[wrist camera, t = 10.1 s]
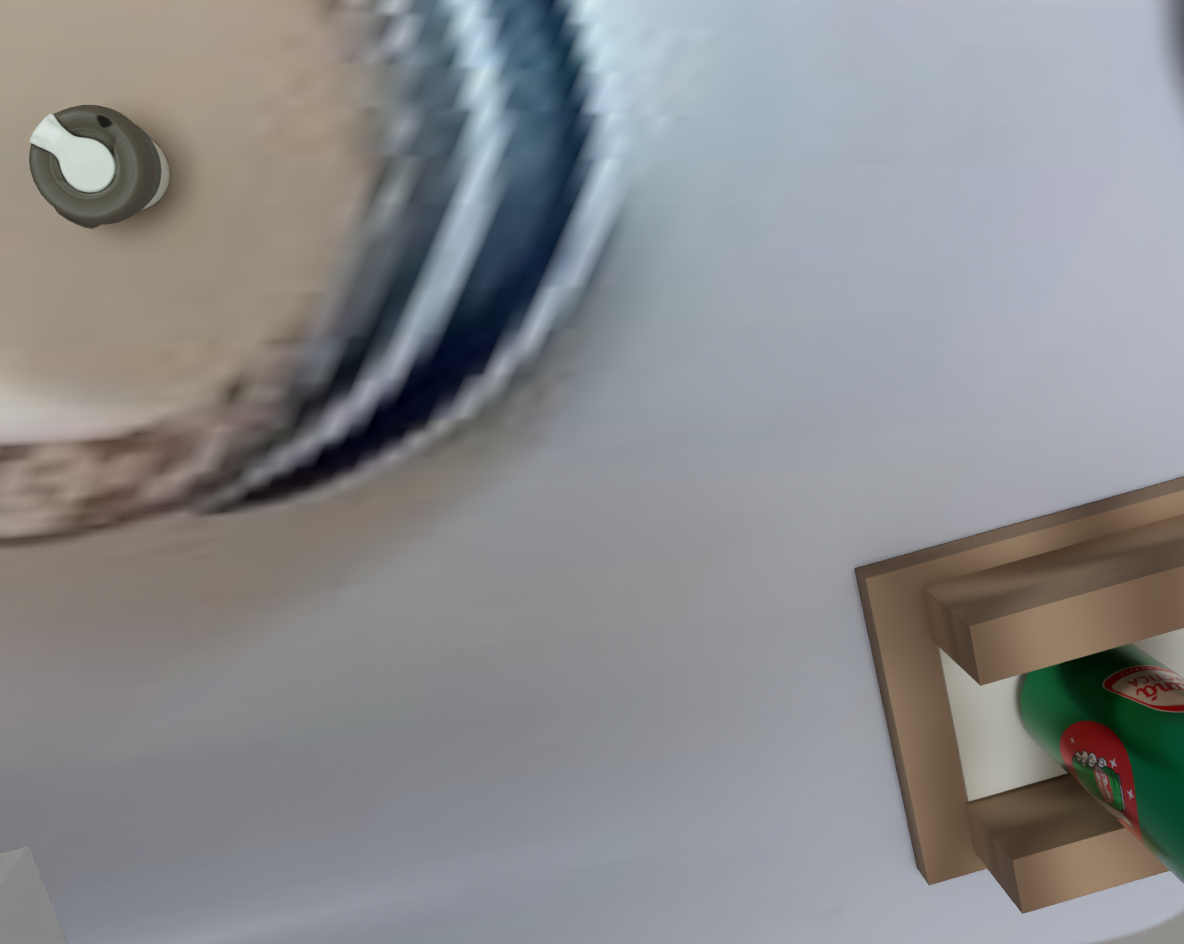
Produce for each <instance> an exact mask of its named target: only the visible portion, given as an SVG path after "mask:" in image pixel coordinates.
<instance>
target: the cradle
mask: <svg viewBox="0 0 1184 944" xmlns="http://www.w3.org/2000/svg"><path fill="white" fill-rule="evenodd" d="M855 572H856V577H857V582H858V586H859V591H860V596H861V601H862V606H863V610H864V615H865V620H866V625H867V630H868V634H869V639H870V644H871V649H872V654H873V658H874V663H875V668H876V673H877V677H878V682H879V687H880V692H881V697H882V701H883V706H884V711H885V716H886V721H887V725H888V730H889V735H890V740H891V745H892V749H893V754H894V759H895V764H896V769H897V773H898V778H899V783H900V788H901V793H902V797H903V802H904V807H905V812H906V816H907V821H908V826H909V831H910V836H911V840H912V845H913V850H914V855H915V860H916V864H917V868H918V870H919V871H920V873H921V874H922V876H923V877H924V879H925V880H926V882H927V883H928V885H932V884H935V883H939V882H942V881H946V880H949V879H952V878H956V877H959V876H963V875H966V874H970V873H973V872H977V871H980V870H983V869H988V870H989V871H990V873H991V874H992V875H993V876H994V878H995V879H996V880H997V882H998V883H999V884H1000V885H1001V887H1002V888H1003V889H1004V891H1005V892H1006V893H1007V894H1008V896H1009V897H1010V898H1011V900H1012V901H1013V902H1014V903H1015V905H1016V906H1017V907H1018V909H1019V910H1020V911H1021V912H1022V914H1023V913H1026V912H1030V911H1033V910H1037V909H1040V908H1043V907H1047V906H1050V905H1054V904H1057V903H1061V902H1064V901H1067V900H1071V899H1074V898H1078V897H1081V896H1085V895H1088V894H1091V893H1095V892H1098V891H1102V890H1105V889H1109V888H1112V887H1115V886H1119V885H1122V884H1126V883H1129V882H1132V881H1136V880H1139V879H1143V878H1146V877H1150V876H1153V875H1156V874H1160V873H1163V872H1167V871H1170V870H1169V869H1168V868H1167V867H1166V866H1165V865H1164V864H1163V863H1162V862H1161V861H1160V860H1159V859H1157V858H1156V857H1155V856H1154V855H1153V854H1152V853H1151V852H1150V851H1149V850H1148V849H1147V848H1146V847H1145V846H1144V845H1143V844H1142V843H1141V842H1140V841H1139V840H1138V839H1136V838H1135V837H1134V836H1133V835H1132V834H1131V833H1130V832H1129V831H1128V830H1127V829H1126V828H1125V827H1124V826H1123V825H1122V824H1121V823H1120V822H1119V821H1118V820H1116V819H1115V818H1114V817H1113V816H1112V815H1111V814H1110V813H1109V812H1108V811H1107V810H1106V809H1105V808H1104V807H1103V806H1102V805H1101V804H1100V803H1099V802H1098V801H1097V800H1095V799H1094V798H1093V797H1092V796H1091V795H1090V794H1089V793H1088V792H1087V791H1086V790H1085V789H1084V788H1083V787H1082V786H1081V785H1080V784H1079V783H1078V782H1077V781H1076V780H1074V779H1073V778H1072V777H1071V776H1070V775H1069V774H1068V773H1067V772H1066V771H1065V770H1064V769H1063V768H1062V767H1061V766H1060V765H1059V764H1058V763H1057V762H1056V761H1054V760H1053V759H1052V758H1051V757H1050V756H1049V755H1048V754H1047V753H1046V752H1045V751H1044V750H1043V749H1042V748H1041V747H1040V746H1039V745H1038V744H1037V743H1036V742H1035V741H1033V739H1032V738H1031V736H1030V735H1029V734H1028V732H1027V730H1026V728H1025V726H1024V723H1023V720H1022V716H1021V707H1020V703H1021V693H1022V689H1023V685H1024V682H1025V680H1026V677H1027V675H1028V673H1029V672H1031V671H1035V670H1038V669H1042V668H1045V667H1049V666H1052V665H1056V664H1059V663H1063V662H1066V661H1070V660H1073V659H1077V658H1080V657H1084V656H1087V655H1091V654H1094V653H1098V652H1101V651H1105V650H1108V649H1112V648H1115V647H1119V646H1123V645H1126V644H1130V643H1132V644H1133V645H1135V646H1136V647H1138V648H1139V649H1141V650H1142V651H1144V652H1145V653H1147V654H1148V655H1150V656H1151V657H1153V658H1155V659H1156V660H1158V661H1159V662H1161V663H1162V664H1164V665H1165V666H1167V667H1168V668H1170V669H1171V670H1173V671H1174V672H1176V673H1177V674H1179V675H1180V676H1182V677H1183V678H1184V477H1182V478H1178V479H1175V480H1171V481H1168V482H1164V483H1160V484H1157V485H1153V486H1150V487H1146V488H1143V489H1139V490H1135V491H1132V492H1128V493H1125V494H1121V495H1117V496H1114V497H1110V498H1107V499H1103V500H1100V501H1096V502H1092V503H1089V504H1085V505H1082V506H1078V507H1074V508H1071V509H1067V510H1064V511H1060V512H1057V513H1053V514H1049V515H1046V516H1042V517H1039V518H1035V519H1031V520H1028V521H1024V522H1021V523H1017V524H1013V525H1010V526H1006V527H1003V528H999V529H996V530H992V531H988V532H985V533H981V534H978V535H974V536H970V537H967V538H963V539H960V540H956V541H953V542H949V543H945V544H942V545H938V546H935V547H931V548H927V549H924V550H920V551H917V552H913V553H910V554H906V555H902V556H899V557H895V558H892V559H888V560H884V561H881V562H877V563H874V564H870V565H867V566H863V567H859V568H856V569H855Z"/></svg>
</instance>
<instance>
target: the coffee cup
mask: <svg viewBox="0 0 1184 944" xmlns="http://www.w3.org/2000/svg"><path fill="white" fill-rule="evenodd" d="M29 141H30V143H31V148H30V156H29V163H30V170H31V174H32V177H33V180H34V182H35V184H36V186H37V188H38V190H39V191H40V193H41V194H42V196H43V197H44V198H45V199H46V200H47V201H48V202H49V203H50V204H51V205H52V206H53V207H54V208H55V210H56V211H57V212H58V213H59V214H60V215H61V216H63V217H64V218H66V219H67V220H69V221H71V222H73V223H75V224H77V225H80V226H83V227H86V228H91V229H92V228H95V227H98V226H100V225H102V224H111V223H116V222H120V221H122V220H125V219H127V218H129V217H130V216H132V215H133V214H134V213H136V212H138V211H141V210H143V209H146V208H148V207H150V206H152V205H153V204H155V203H156V202H158V201H159V200H160V199H161V198H162V196H163V195H164V193H165V192H166V190H167V187H168V184H169V178H170V171H169V165H168V162H167V159H166V157H165V155H164V153H163V152H162V150H161V149H160V148H159V147H158V146H157V145H156V143H154V142H153V141H152V140H151V139H150V138H149V136H148V135H147V134H146V133H145V132H144V131H143V130H142V129H141V128H140V127H138V126H137V125H135V124H134V123H133V122H132V121H130V120H129V119H128V118H127V117H125V116H124V115H122V114H121V113H119V112H117V111H115V110H112V109H110V108H106V107H102V106H96V105H81V106H75V107H71V108H68V109H65V110H62V111H60V112H58V113H55V114H49V115H48V116H46V117H45V118H44V119H43V121H42V122H41V123H40V124H39V125H38V126H37V128H36V129H35V131H34V132H33V134H32V136H31V138H30V140H29Z"/></svg>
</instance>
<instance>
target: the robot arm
mask: <svg viewBox="0 0 1184 944" xmlns="http://www.w3.org/2000/svg"><path fill="white" fill-rule="evenodd" d="M0 944H68V943H67V940H66V938H65V935H64V933H63V930H62V928H61V925H60V923H59V920H58V918H57V916H56V913H55V911H54V908H53V906H52V903H51V901H50V898H49V896H48V893H47V891H46V889H45V886H44V884H43V881H42V879H41V876H40V874H39V871H38V869H37V866H36V864H35V861H34V859H33V857H32V854H31V852H30V849H29V847H28V846H26V847H23V848H19V849H15V850H11V851H8V852H4V853H0Z"/></svg>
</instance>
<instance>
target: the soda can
mask: <svg viewBox="0 0 1184 944" xmlns="http://www.w3.org/2000/svg"><path fill="white" fill-rule="evenodd" d="M1020 707H1021V716H1022V720H1023V723H1024V726H1025V728H1026V730H1027V732H1028V734H1029V735H1030V736H1031V738H1032V739H1033V741H1035V742H1036V743H1037V744H1038V745H1039V746H1040V747H1041V748H1042V749H1043V750H1044V751H1045V752H1046V753H1047V754H1048V755H1049V756H1050V757H1051V758H1052V759H1053V760H1054V761H1056V762H1057V763H1058V764H1059V765H1060V766H1061V767H1062V768H1063V769H1064V770H1065V771H1066V772H1067V773H1068V774H1069V775H1070V776H1071V777H1072V778H1073V779H1074V780H1076V781H1077V782H1078V783H1079V784H1080V785H1081V786H1082V787H1083V788H1084V789H1085V790H1086V791H1087V792H1088V793H1089V794H1090V795H1091V796H1092V797H1093V798H1094V799H1095V800H1097V801H1098V802H1099V803H1100V804H1101V805H1102V806H1103V807H1104V808H1105V809H1106V810H1107V811H1108V812H1109V813H1110V814H1111V815H1112V816H1113V817H1114V818H1115V819H1116V820H1118V821H1119V822H1120V823H1121V824H1122V825H1123V826H1124V827H1125V828H1126V829H1127V830H1128V831H1129V832H1130V833H1131V834H1132V835H1133V836H1134V837H1135V838H1136V839H1138V840H1139V841H1140V842H1141V843H1142V844H1143V845H1144V846H1145V847H1146V848H1147V849H1148V850H1149V851H1150V852H1151V853H1152V854H1153V855H1154V856H1155V857H1156V858H1157V859H1159V860H1160V861H1161V862H1162V863H1163V864H1164V865H1165V866H1166V867H1167V868H1168V869H1169V870H1170V871H1171V872H1172V873H1173V874H1174V875H1175V876H1176V877H1177V878H1178V879H1180V880H1181V881H1182V882H1183V883H1184V678H1183V677H1182V676H1180V675H1179V674H1177V673H1176V672H1174V671H1173V670H1171V669H1170V668H1168V667H1167V666H1165V665H1164V664H1162V663H1161V662H1159V661H1158V660H1156V659H1155V658H1153V657H1151V656H1150V655H1148V654H1147V653H1145V652H1144V651H1142V650H1141V649H1139V648H1138V647H1136V646H1135V645H1133V644H1132V643H1130V644H1126V645H1123V646H1119V647H1115V648H1112V649H1108V650H1105V651H1101V652H1098V653H1094V654H1091V655H1087V656H1084V657H1080V658H1077V659H1073V660H1070V661H1066V662H1063V663H1059V664H1056V665H1052V666H1049V667H1045V668H1042V669H1038V670H1035V671H1031V672H1029V673H1028V675H1027V677H1026V680H1025V682H1024V685H1023V689H1022V693H1021V703H1020Z"/></svg>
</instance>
